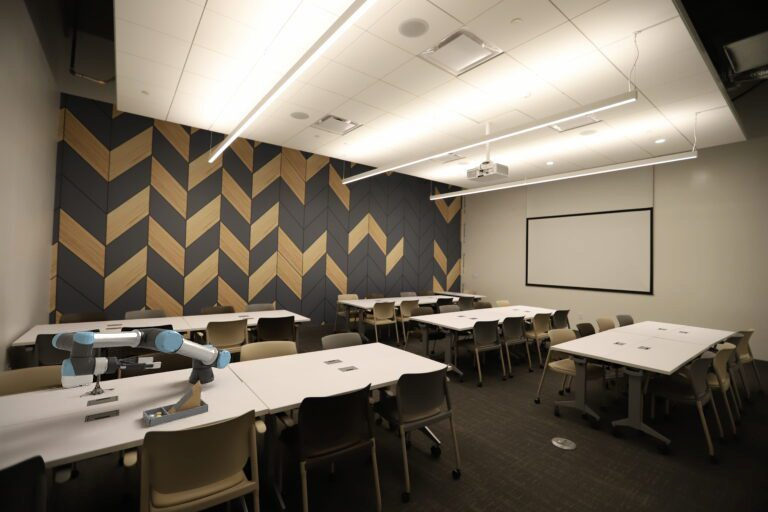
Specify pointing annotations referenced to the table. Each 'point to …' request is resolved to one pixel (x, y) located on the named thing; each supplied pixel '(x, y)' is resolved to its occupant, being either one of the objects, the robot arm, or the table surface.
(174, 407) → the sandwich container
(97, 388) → the eiffel tower figurine
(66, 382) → the cable organizer
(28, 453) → the table surface
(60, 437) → the table surface
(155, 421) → the parts tub
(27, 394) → the table surface
